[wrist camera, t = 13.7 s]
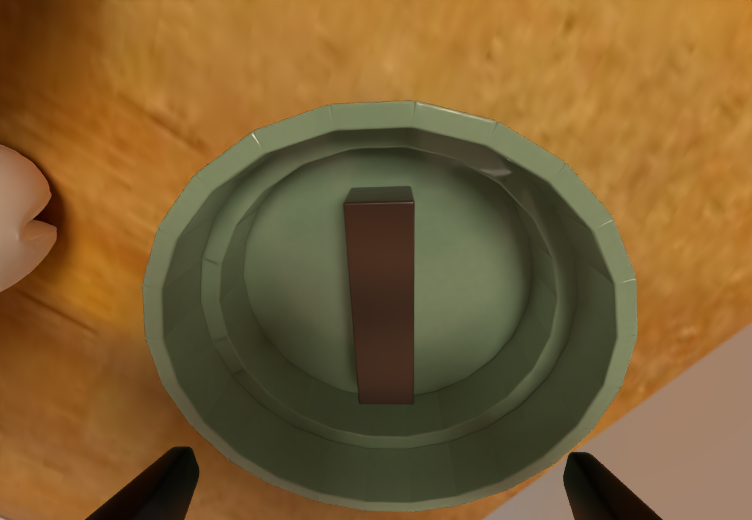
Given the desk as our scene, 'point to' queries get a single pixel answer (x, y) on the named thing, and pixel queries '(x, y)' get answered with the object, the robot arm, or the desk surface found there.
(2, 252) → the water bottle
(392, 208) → the dark brown rectangular block
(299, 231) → the bowl
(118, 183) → the desk surface
